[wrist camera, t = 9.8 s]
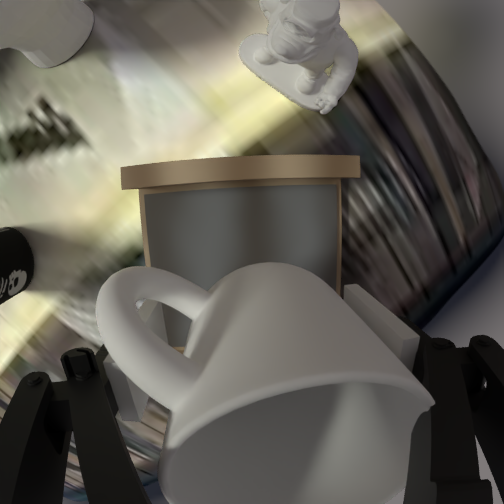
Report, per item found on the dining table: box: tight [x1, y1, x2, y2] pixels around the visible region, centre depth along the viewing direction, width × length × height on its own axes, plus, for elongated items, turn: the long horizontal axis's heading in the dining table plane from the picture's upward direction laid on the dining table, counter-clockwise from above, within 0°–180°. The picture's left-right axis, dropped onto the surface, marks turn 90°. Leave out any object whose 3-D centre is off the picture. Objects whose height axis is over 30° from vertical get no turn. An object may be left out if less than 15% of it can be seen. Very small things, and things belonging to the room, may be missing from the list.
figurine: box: [239, 0, 358, 114], centre depth 17 cm, size 9×7×12 cm
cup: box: [0, 0, 94, 68], centre depth 12 cm, size 11×11×15 cm
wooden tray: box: [121, 155, 360, 354], centre depth 23 cm, size 16×17×5 cm
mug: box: [95, 262, 435, 504], centre depth 11 cm, size 12×8×10 cm
